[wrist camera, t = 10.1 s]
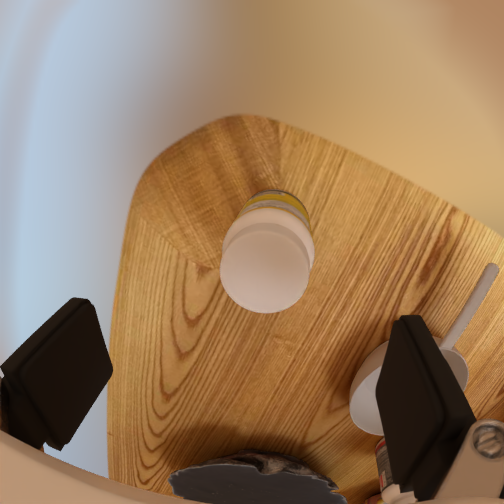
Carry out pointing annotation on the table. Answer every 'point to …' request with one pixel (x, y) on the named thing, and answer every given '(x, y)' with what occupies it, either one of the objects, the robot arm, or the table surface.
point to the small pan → (368, 374)
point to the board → (254, 481)
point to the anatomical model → (375, 500)
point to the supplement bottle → (268, 253)
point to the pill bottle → (389, 479)
